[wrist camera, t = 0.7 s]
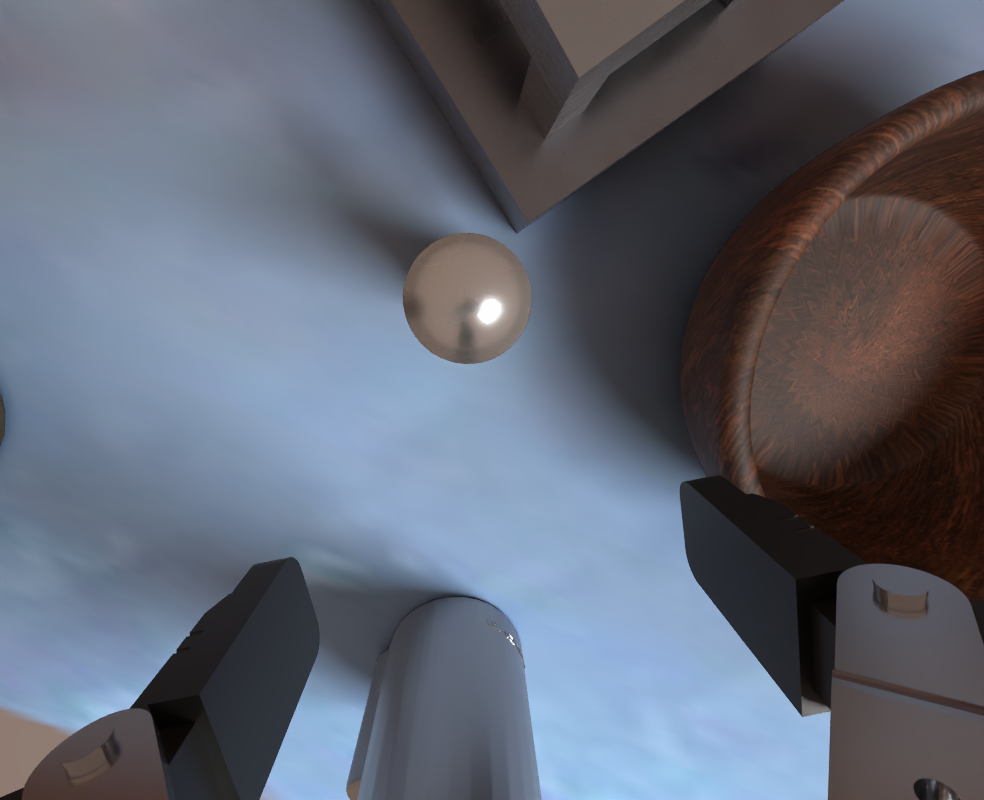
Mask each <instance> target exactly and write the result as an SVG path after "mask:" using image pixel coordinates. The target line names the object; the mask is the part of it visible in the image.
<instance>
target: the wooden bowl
mask: <svg viewBox="0 0 984 800" xmlns="http://www.w3.org/2000/svg"><path fill="white" fill-rule="evenodd" d="M680 388H681V400H682V406H683V411H684V416H685V421H686V425H687V428H688V432H689V435H690V438H691V442H692V445H693V448H694V450H695V452H696V455H697V457H698V459H699V462H700V464H701V466H702V468H703V470H704V472H705V474H706V475H707V477H711V476H716V475H721V476H722V477H724V478H725V479H727V480H728V481H729V482H731V483H732V484H733V485H735V486H736V487H737V488H739V489H740V490H741V491H743V492H744V493H745V494H751V493H754V494H757V495H760V496H763V497H766V498H768V499H771V500H774V501H777V502H779V503H781V504H782V505H784V506H785V507H787V508H788V509H789V510H791V511H792V512H794V513H795V514H797V515H798V518H802V519H804V520H805V521H807V522H808V523H810V524H811V525H813V526H814V529H815V530H817V529H818V530H820V531H821V532H823V533H824V534H826V535H827V536H828V537H830V538H831V539H833V540H834V541H836V542H837V543H838V544H840V545H841V546H843V547H844V548H846V549H847V550H849V551H850V552H851V553H853V554H854V555H856V556H857V557H859V558H860V559H862V560H863V561H864V562H866V563H867V564H892V565H899V566H905V567H909V568H914V569H918V570H921V571H924V572H927V573H930V574H932V575H934V576H937V577H939V578H941V579H943V580H945V581H947V582H949V583H950V584H952V585H953V586H955V587H956V588H958V589H959V590H960V591H961V592H962V593H963V594H964V595H965V596H966V597H967V598H968V600H984V70H983V71H979V72H976V73H973V74H970V75H968V76H965V77H963V78H960V79H958V80H955V81H953V82H950V83H948V84H945V85H943V86H941V87H938V88H936V89H934V90H932V91H930V92H928V93H926V94H924V95H922V96H920V97H918V98H916V99H914V100H912V101H910V102H908V103H906V104H904V105H902V106H900V107H899V108H897V109H895V110H893V111H891V112H889V113H887V114H886V115H884V116H882V117H880V118H879V119H877V120H875V121H873V122H872V123H870V124H868V125H867V126H865V127H863V128H861V129H860V130H858V131H856V132H855V133H853V134H851V135H850V136H848V137H846V138H845V139H843V140H842V141H840V142H839V143H837V144H835V145H834V146H832V147H831V148H829V149H828V150H826V151H824V152H823V153H821V154H820V155H818V156H817V157H815V158H814V159H812V160H811V161H809V162H808V163H807V164H805V165H804V166H803V167H802V168H800V169H799V170H798V171H796V172H795V173H794V174H792V175H791V176H790V177H789V178H787V179H786V180H785V181H783V182H782V183H781V184H779V185H778V186H777V187H776V188H775V189H774V190H773V191H772V192H771V193H770V194H769V195H767V196H766V197H765V198H764V199H763V200H762V201H761V202H760V203H759V204H758V205H757V206H756V207H755V208H754V209H753V210H752V212H751V213H750V214H749V215H748V216H747V217H746V218H745V219H744V220H743V221H742V223H741V224H740V225H739V226H738V227H737V228H736V229H735V231H734V232H733V233H732V235H731V236H730V237H729V239H728V240H727V241H726V243H725V244H724V245H723V247H722V248H721V250H720V251H719V253H718V255H717V256H716V258H715V259H714V261H713V262H712V264H711V266H710V268H709V270H708V272H707V274H706V276H705V277H704V279H703V281H702V283H701V285H700V288H699V290H698V293H697V295H696V298H695V300H694V303H693V305H692V309H691V312H690V315H689V318H688V322H687V325H686V330H685V335H684V340H683V345H682V354H681V362H680Z"/></svg>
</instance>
